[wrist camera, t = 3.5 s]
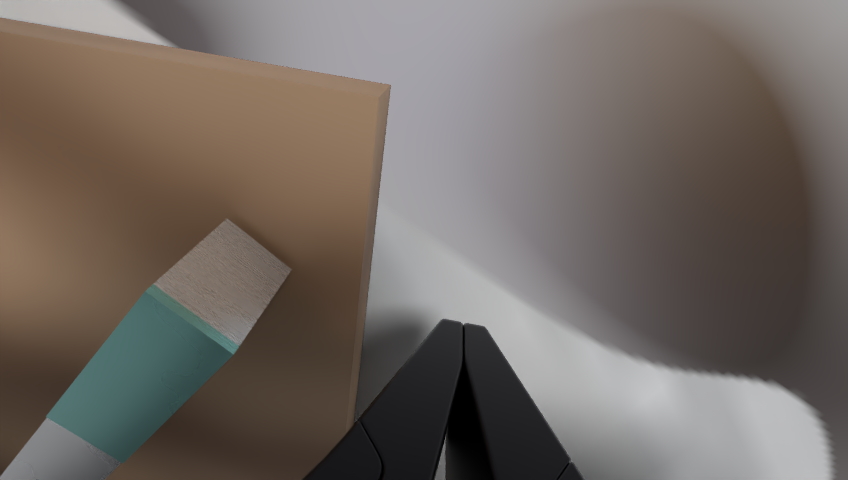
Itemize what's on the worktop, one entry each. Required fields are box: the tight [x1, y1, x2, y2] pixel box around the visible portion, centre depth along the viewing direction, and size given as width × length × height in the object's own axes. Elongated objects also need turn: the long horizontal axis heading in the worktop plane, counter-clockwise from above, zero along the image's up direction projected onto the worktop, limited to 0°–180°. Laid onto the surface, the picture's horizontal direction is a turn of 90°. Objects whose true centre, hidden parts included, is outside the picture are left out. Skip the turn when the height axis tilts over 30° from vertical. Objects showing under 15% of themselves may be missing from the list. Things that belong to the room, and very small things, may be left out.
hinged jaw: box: [0, 218, 292, 480], centre depth 11 cm, size 14×2×3 cm, turn 137°
